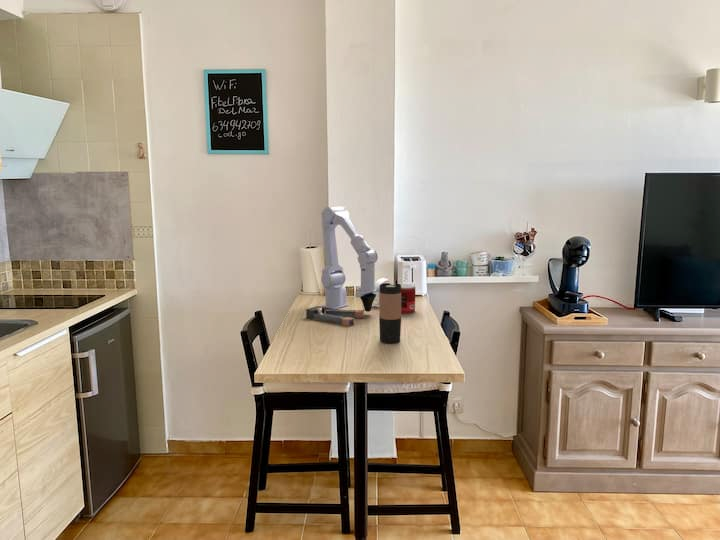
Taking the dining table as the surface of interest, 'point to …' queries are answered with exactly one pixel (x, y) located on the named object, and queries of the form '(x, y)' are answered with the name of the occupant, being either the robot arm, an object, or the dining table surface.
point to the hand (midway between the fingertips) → (367, 311)
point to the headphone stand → (379, 290)
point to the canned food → (407, 298)
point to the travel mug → (390, 313)
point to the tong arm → (346, 313)
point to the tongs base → (328, 316)
